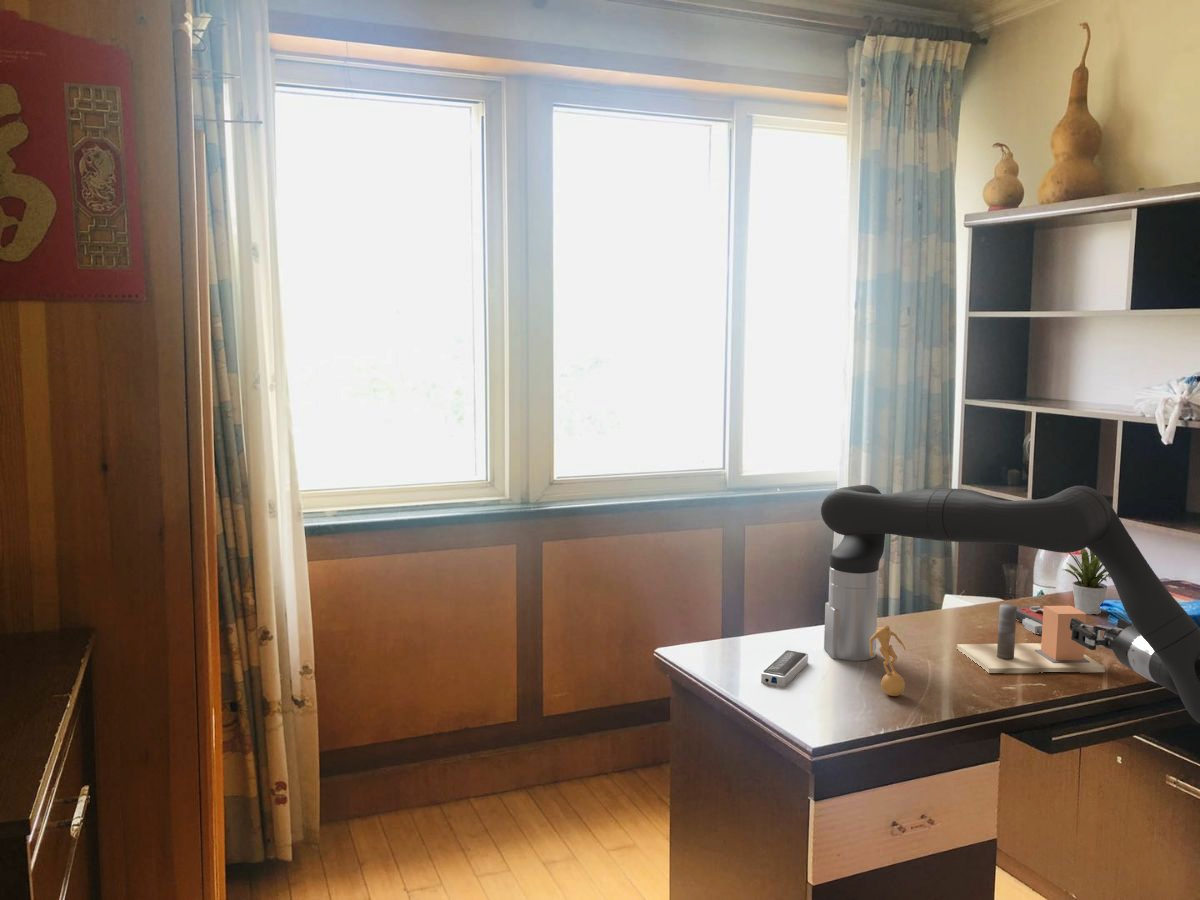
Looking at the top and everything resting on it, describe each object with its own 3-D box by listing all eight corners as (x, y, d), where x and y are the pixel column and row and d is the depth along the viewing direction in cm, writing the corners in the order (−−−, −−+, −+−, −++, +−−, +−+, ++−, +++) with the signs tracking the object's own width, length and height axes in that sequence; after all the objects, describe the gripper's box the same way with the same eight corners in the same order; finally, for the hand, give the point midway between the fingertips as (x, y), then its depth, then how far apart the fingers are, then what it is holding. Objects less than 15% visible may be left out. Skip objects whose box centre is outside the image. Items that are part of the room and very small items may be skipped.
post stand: (988, 673, 175) (991, 615, 173) (956, 649, 188) (959, 595, 187) (1104, 672, 175) (1108, 614, 174) (1064, 647, 189) (1067, 594, 188)
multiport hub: (808, 665, 180) (808, 653, 180) (784, 689, 168) (784, 677, 167) (785, 661, 182) (786, 649, 182) (760, 684, 170) (760, 672, 169)
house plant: (1144, 618, 210) (1149, 546, 208) (1097, 624, 205) (1102, 550, 203) (1091, 601, 223) (1096, 533, 221) (1046, 607, 218) (1050, 537, 216)
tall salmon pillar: (1055, 660, 178) (1058, 613, 177) (1040, 650, 184) (1043, 605, 183) (1083, 659, 179) (1086, 613, 178) (1068, 650, 184) (1070, 605, 183)
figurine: (884, 703, 160) (887, 635, 159) (858, 692, 165) (860, 625, 164) (918, 694, 164) (921, 627, 163) (891, 683, 169) (894, 618, 168)
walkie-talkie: (1000, 620, 210) (1059, 649, 190) (1001, 600, 209) (1060, 627, 190) (1035, 618, 211) (1098, 646, 192) (1036, 598, 211) (1099, 625, 191)
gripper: (1196, 632, 153) (1136, 603, 169) (1111, 632, 152) (1058, 603, 168) (1192, 676, 154) (1132, 643, 170) (1107, 677, 153) (1055, 643, 169)
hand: (1095, 623), depth 169 cm, fingers open, 8 cm apart
